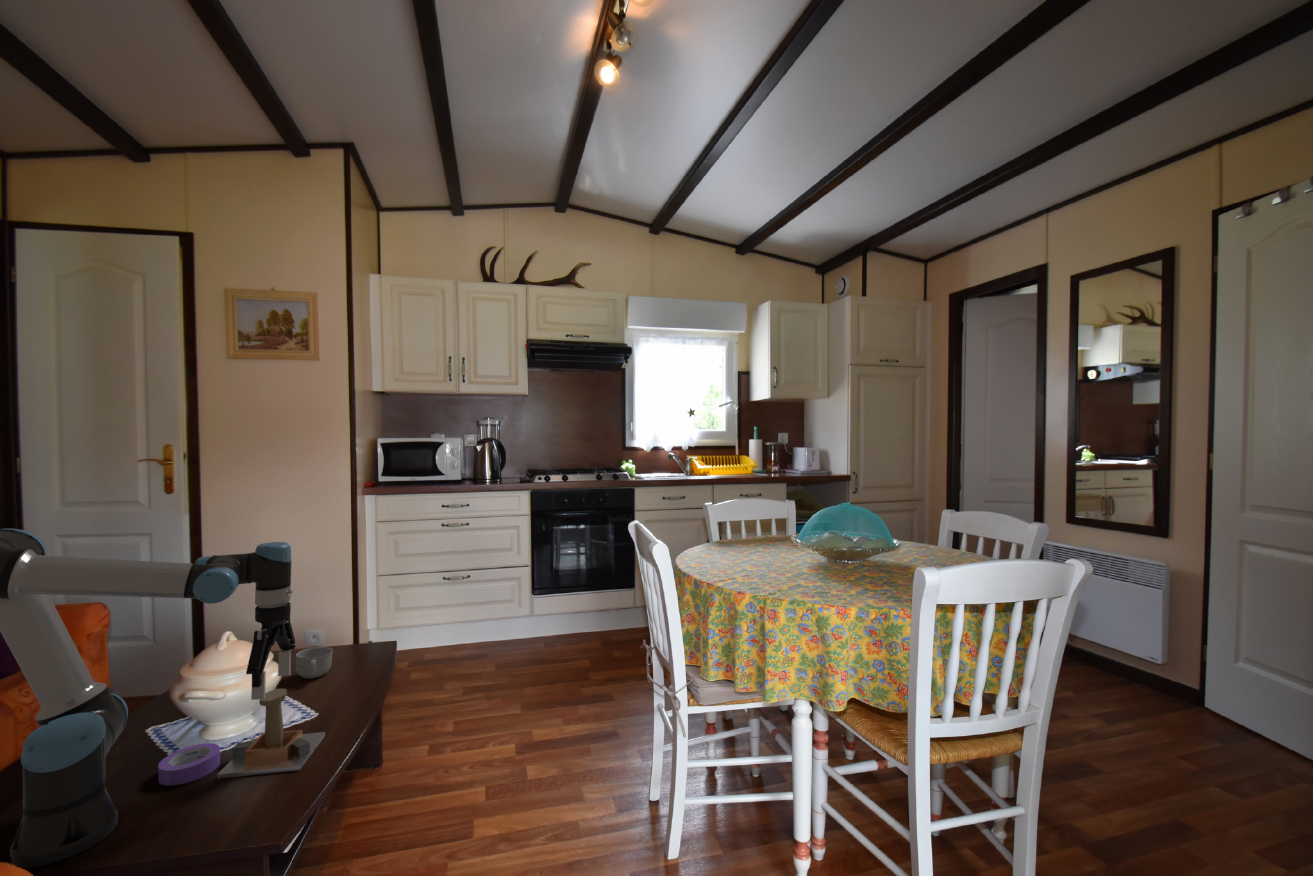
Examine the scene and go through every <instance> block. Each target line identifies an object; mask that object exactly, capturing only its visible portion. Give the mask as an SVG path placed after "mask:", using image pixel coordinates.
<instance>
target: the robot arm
mask: <svg viewBox="0 0 1313 876" xmlns="http://www.w3.org/2000/svg"><path fill="white" fill-rule="evenodd" d="M46 554H47V551H46V546H45V543H44V542H43V541H42V539H40V538H39V537H38V536H37V535H36V534H33V533H32V532H30V531H27V530H24V529H19V528H0V634H1V636H2V638H3V639H4V641H5V643H6V645H7V647H8V648H9V651H10V652H11V654H12V656H13V657H14V659H15V661H16V662H17V665H18V667H19V668H20V669H21V671H22V674H23V676H24V677H25V679H26V682H27V683H28V685H29V686H30V688H31V690H32V692H33V694H34V696H35V698H36V699H37V701H38V703H39V705H40V709H39V710H38V712H37V714H36V715H35V717H34V718H35V721H36V722H37V724H38V726H39V727H37V728H36V729H34V730H33V731H32V732H31V733H30V734H28V736H26V738H25V740H24V742H23V743H22V744H23V745H22V749H21V750H22V751H21V752H20V763H21V777H22V778H21V779H22V780H21V781H22V782H21V783H22V819H21V821H20V823H19V826H18V828H17V831H16V834H15V836H14V838H13V841H12V843H11V845H10V849H9V857H10V856H11V858H13V861H14V862H10V864H11V863H14V864H15V865H17V866H19V867H18V868H20V867H22V868H21V869H23V868H24V869H26V868H36V867H42V866H47V865H51V864H54V863H57V862H60V861H64V860H65V859H68V858H71V857H73V856H76V855H77V854H80V853H82V852H84V851H86V850H88V849H90V848H92V847H93V846H95V845H97V844H98V843H100V842H101V841H103V840H104V839H106V837H107V836H110V835H111V833H112V832H113V831H114V830H115V828H116V827H117V825H118V822H119V820H118V819H119V816H118V815H119V814H118V809H117V807H116V806H115V805H114V803H113V801H112V799H111V796H110V795H109V793H108V790H107V788H106V787H107V786H106V785H107V784H106V758H107V755H108V753H109V751H110V750H111V749H112V747H113V745H114V744H115V742H116V741H117V740H118V738H119V737H120V735H121V734H122V733H123V731H124V729H125V727H126V725H127V720H128V714H129V709H128V705H127V703H126V702H125V700H124V699H123V698H122V697H121V696H120V695H118V694H116V693H112V692H111V690H110V688H109V686H108V685H107V683H106V682H99V681H95V680H94V678H93V676H92V675H91V673H90V671H89V668H88V667H87V665H86V663H85V660H84V659H83V658H82V656H81V653H80V652H79V650H78V648H77V646H76V644H75V642H74V641H73V638H72V636H71V635H70V632H69V631H68V628H67V626H66V625H65V623H64V621H63V619H62V618H61V615H60V613H59V612H58V609H57V608H56V606H55V604H54V601H53V600H52V598H51V596H50V595H52V596H53V595H55V596H57V595H58V596H59V595H61V596H85V597H86V596H89V597H90V596H91V597H92V596H93V597H126V598H127V597H129V598H130V597H131V598H133V597H134V598H139V597H140V598H164V599H165V598H167V599H189V600H190V599H194V600H195V599H197V600H198V601H200V602H202V603H205V604H211V605H212V604H218V603H222V602H223V601H225V600H227V599H228V598H230V597H231V596H232V595H233V594H234V592H235V591H236V590H237V588H238V586H239V585H246V584H254V583H255V590H254V591H255V592H254V596H255V597H254V605H256V607H255V608H254V609H255V610H254V621H255V622H257V623H260V624H261V628H260V630H255V631H254V633H253V640H252V645H251V650H250V655H249V659H248V662H247V666H246V667H247V668H246V670H245V671H246V672H245V673H246V675H251V694H250V695H251V698H250V699H251V700H253V701H255V700H260V699H264V698H265V694H266V678H267V677H266V676H267V675H266V674H267V673H266V670H265V667H266V664H267V662H268V659H269V656H270V655H269V654H270V653H271V648H272V647H273V646H275V644H276V645H278V648H279V649H280V650H279V651H278V654H277V655H278V656H277V658H278V659H277V663H278V665H277V669H278V670H277V676H278V677H287V676H288V677H289V676H291V665H292V659H291V658H292V650H295V649H296V638H295V633H294V630H293V626H292V623H291V611H292V610H291V602H290V600H291V594H292V593H293V590H291V589H292V587H291V584H292V583H291V582H292V578H291V577H292V546H291V545H290V544H289V543H288V542H285V541H271V542H263V543H260V544H258V545H257V546H256V548H255V551H254V552H248V553H237V554H234V553H233V554H221V555H219V554H218V555H217V554H214V555H209V556H202V557H198V558H197V559H196V560H195V562H194V563H189V562H188V563H187V562H186V563H185V562H172V561H171V562H169V561H166V562H165V561H152V560H151V561H150V560H136V559H135V560H133V559H113V558H96V557H79V556H61V555H46ZM264 670H265V671H264Z"/></svg>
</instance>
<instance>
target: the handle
mask: <svg viewBox="0 0 1313 876" xmlns="http://www.w3.org/2000/svg"><path fill="white" fill-rule="evenodd" d="M287 690H288V689H286V688H276V689H273V690H270V691H268V692H265V698H264V699H258V700H259V702H258V703H259V705H260V706H262V707H265V721H264V733H265V742H266V747H267V748H272V747H282V743H283V731H284V720H283V710H282V702H283V701H284V700H285V699H286V696H287V695H288V691H287Z"/></svg>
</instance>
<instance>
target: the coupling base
mask: <svg viewBox="0 0 1313 876" xmlns="http://www.w3.org/2000/svg"><path fill="white" fill-rule="evenodd" d="M325 737H326V731H321V732H311V733H309V732H308V733H303V729H297V730H296V729H295V730H285V731H284V730H283V743H282V747H272V748H267V747H266V742H265V732H263V733H261V734H260V735H259V736H258V737H256V738H255V737H254V738H251V739H250V740H249V741H243V742H237V743H236V744H235V745H234V746H233V747H232V749H231V750H232V759H231V760H230V761H228V763H227V764H226V765H225V766H224V767H223V768H222V769H221V770H220V771H219V772H218V773H217V775H216V779H217V780H218V779H228V778H238V777H248V776H249V777H250V776H256V775H257V776H259V775H267V774H276V773H287V772H296V771H301V769H302V768H303V766H304V765H305V763H306V762H307V761H308V759H310V757H311V756H312V754H313V753H314V751H315V750H316V749H317V748H318V746H319V744H321V742H322V741H323V739H324V738H325Z"/></svg>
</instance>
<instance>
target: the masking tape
mask: <svg viewBox="0 0 1313 876" xmlns="http://www.w3.org/2000/svg"><path fill="white" fill-rule="evenodd" d="M220 763H221V748H220V745H218V744H217V743H214V742H213V743H211V742H209V743H207V742H206V743H200V744H199V743H198V744H194V745H190V746H187V747H186V746H185V747H184V748H181V749H179V750H176V751H174V752H173V753H170V754H169V755H167V756H165V757H164V758H162V760H160V761H159V763H158V766H157V772H158V774H157V775H158V783H159V784H160V785H163V786H170V787H171V786H178V785H179V786H180V785H184V784H187V783H192V782H194V781H197V780H200V779H201V778H204V777H206V776H207V775H209V774H211V773H212V772H214V771H215V770H216V769H217V768H218V767H219V766H220Z"/></svg>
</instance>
